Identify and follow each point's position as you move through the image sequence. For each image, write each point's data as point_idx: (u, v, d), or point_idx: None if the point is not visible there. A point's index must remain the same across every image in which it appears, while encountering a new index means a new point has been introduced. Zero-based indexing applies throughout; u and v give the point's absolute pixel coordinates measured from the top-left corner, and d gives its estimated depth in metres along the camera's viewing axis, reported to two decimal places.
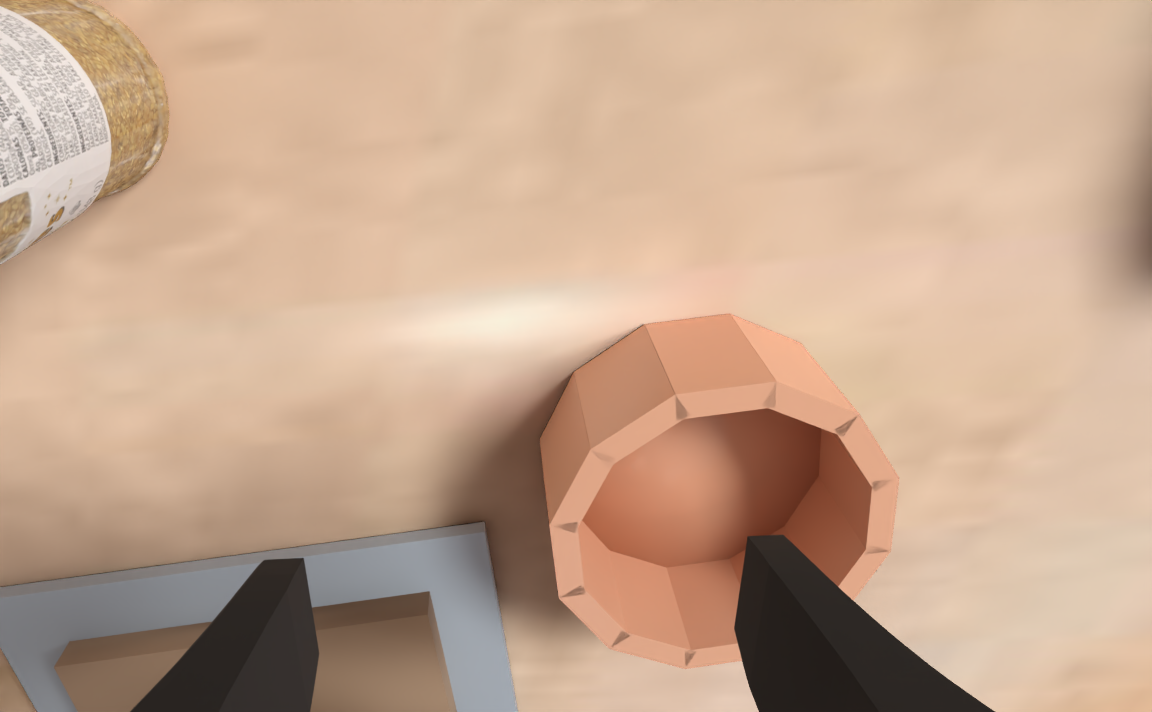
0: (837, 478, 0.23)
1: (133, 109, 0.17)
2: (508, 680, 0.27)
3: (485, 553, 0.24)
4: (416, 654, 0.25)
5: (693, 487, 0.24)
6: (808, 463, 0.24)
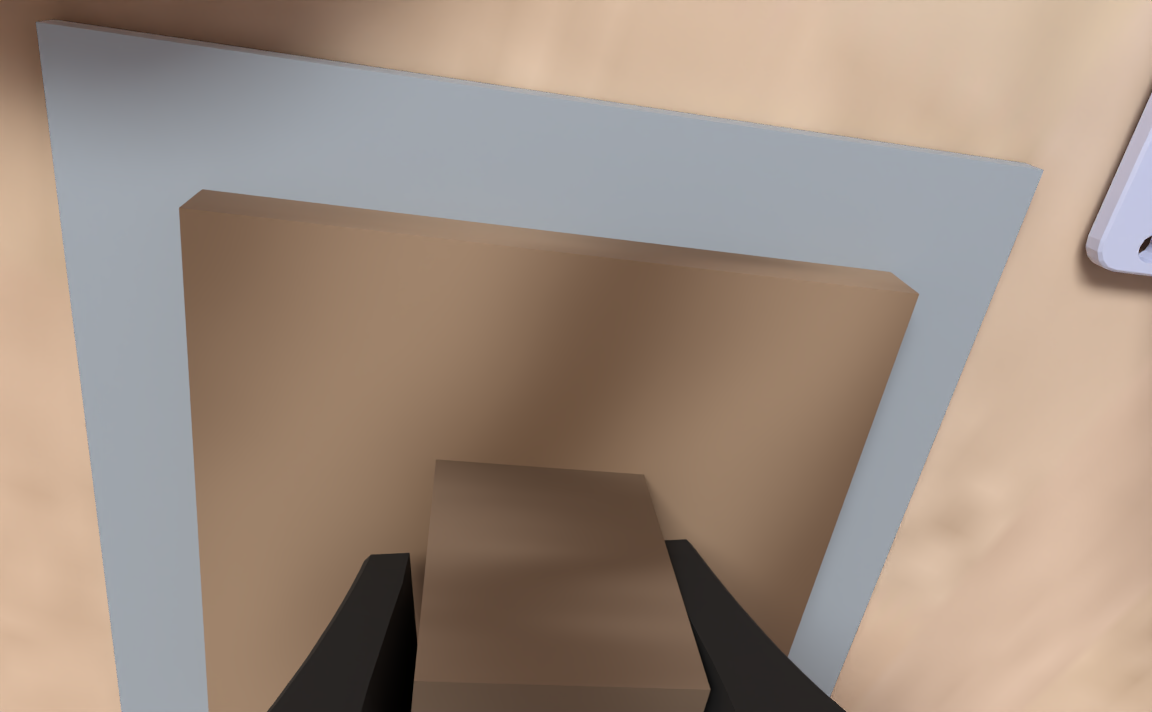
0: None
1: None
2: (514, 97, 0.12)
3: (104, 38, 0.11)
4: (296, 263, 0.11)
5: None
6: None
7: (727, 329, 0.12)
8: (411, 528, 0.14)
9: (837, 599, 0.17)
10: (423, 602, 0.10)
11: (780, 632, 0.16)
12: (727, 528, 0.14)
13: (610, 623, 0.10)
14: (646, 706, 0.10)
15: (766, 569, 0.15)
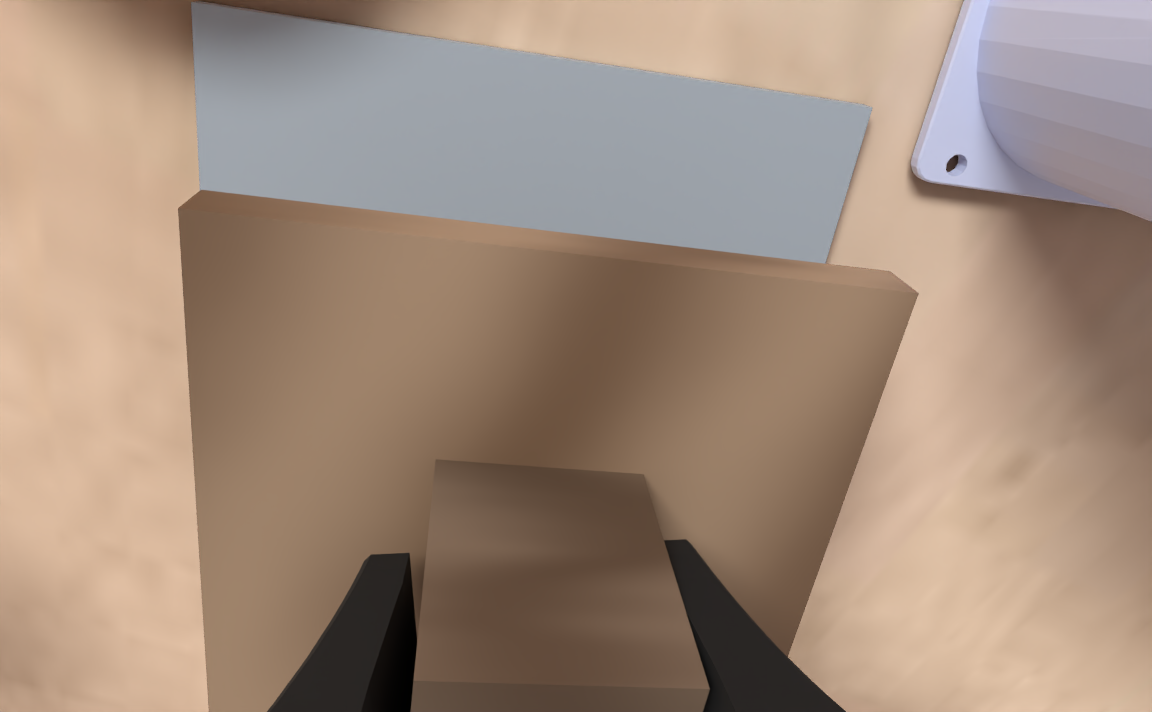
0: None
1: None
2: (503, 54, 0.17)
3: (234, 13, 0.16)
4: (296, 264, 0.11)
5: None
6: None
7: (726, 329, 0.12)
8: (411, 528, 0.14)
9: None
10: (423, 602, 0.10)
11: (780, 631, 0.16)
12: (728, 527, 0.14)
13: (610, 623, 0.10)
14: (646, 705, 0.10)
15: (766, 568, 0.15)
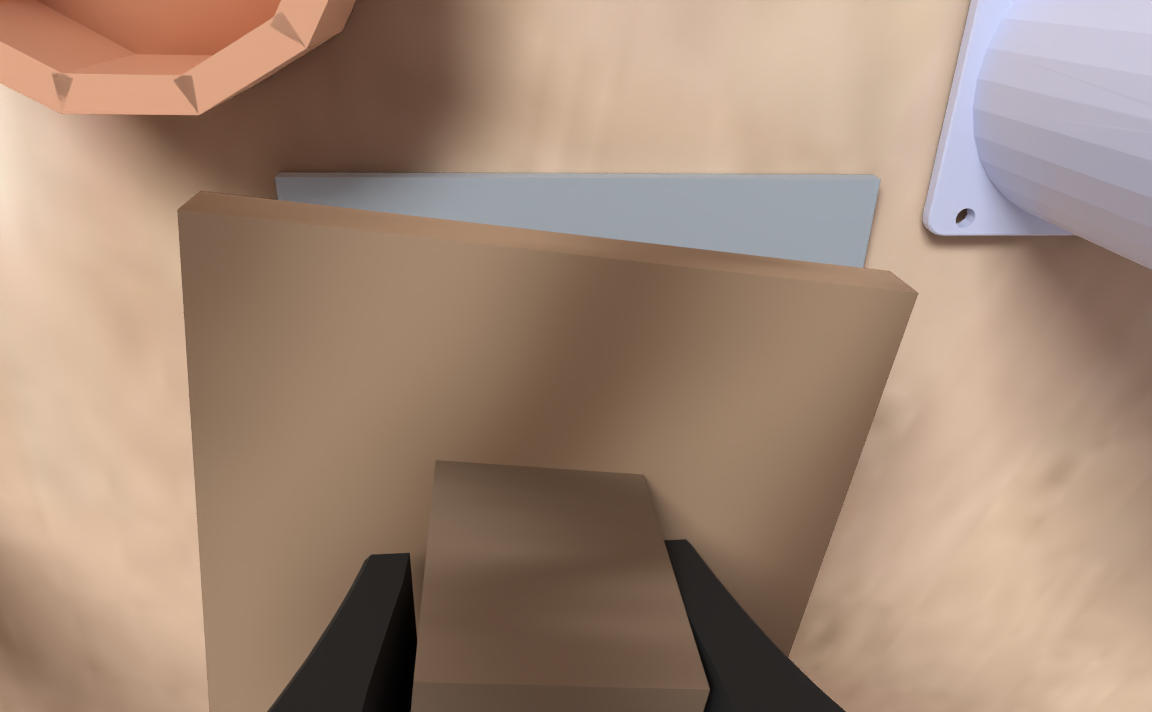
0: None
1: None
2: (544, 181, 0.20)
3: (311, 180, 0.19)
4: (295, 264, 0.11)
5: None
6: None
7: (726, 329, 0.12)
8: (411, 529, 0.14)
9: None
10: (423, 603, 0.10)
11: (781, 631, 0.16)
12: (728, 528, 0.14)
13: (610, 624, 0.10)
14: (646, 706, 0.10)
15: (766, 569, 0.15)
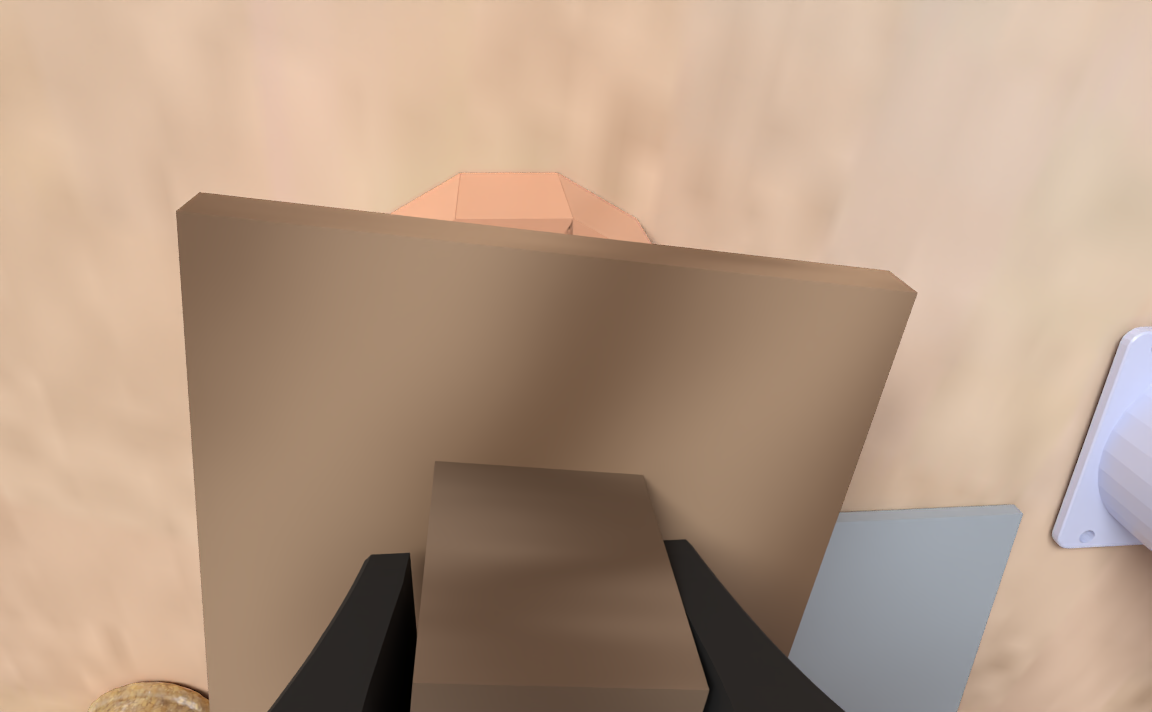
0: None
1: None
2: None
3: None
4: (294, 266, 0.11)
5: None
6: None
7: (725, 329, 0.12)
8: (411, 529, 0.14)
9: None
10: (423, 604, 0.10)
11: (781, 632, 0.16)
12: (727, 528, 0.14)
13: (608, 625, 0.10)
14: (645, 707, 0.10)
15: (766, 569, 0.15)
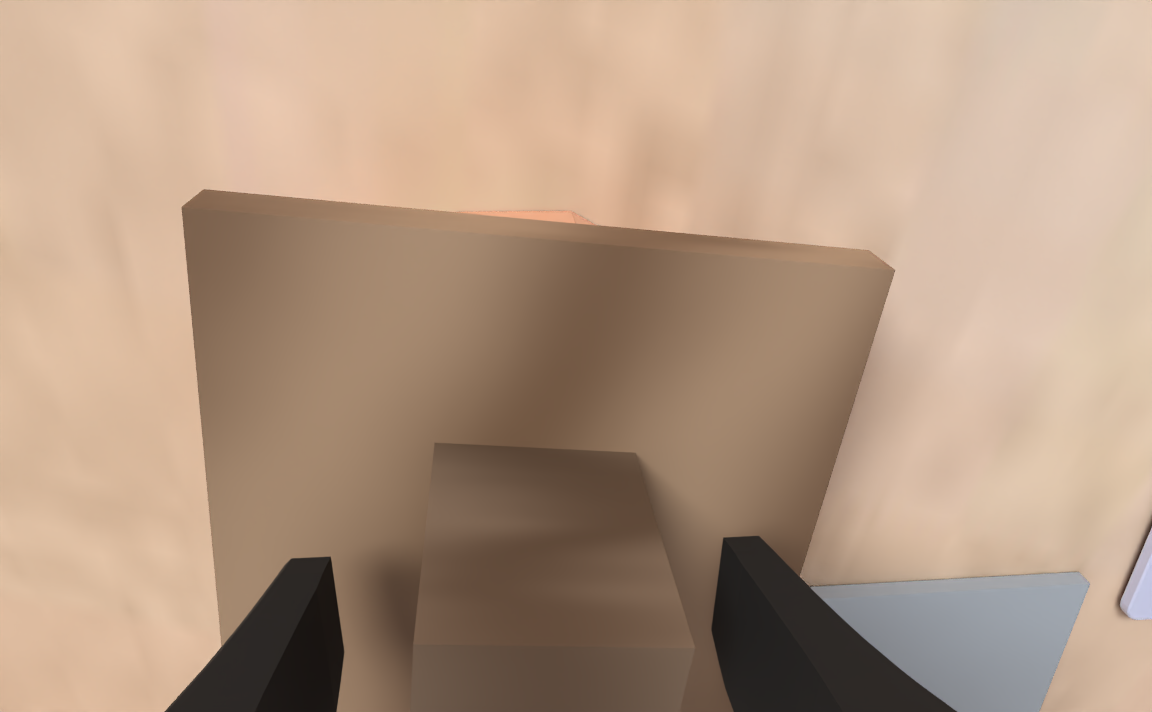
0: None
1: None
2: None
3: None
4: (294, 257, 0.12)
5: None
6: None
7: (710, 309, 0.13)
8: (413, 510, 0.14)
9: None
10: (422, 573, 0.11)
11: None
12: (719, 503, 0.15)
13: (600, 590, 0.11)
14: (635, 665, 0.10)
15: None
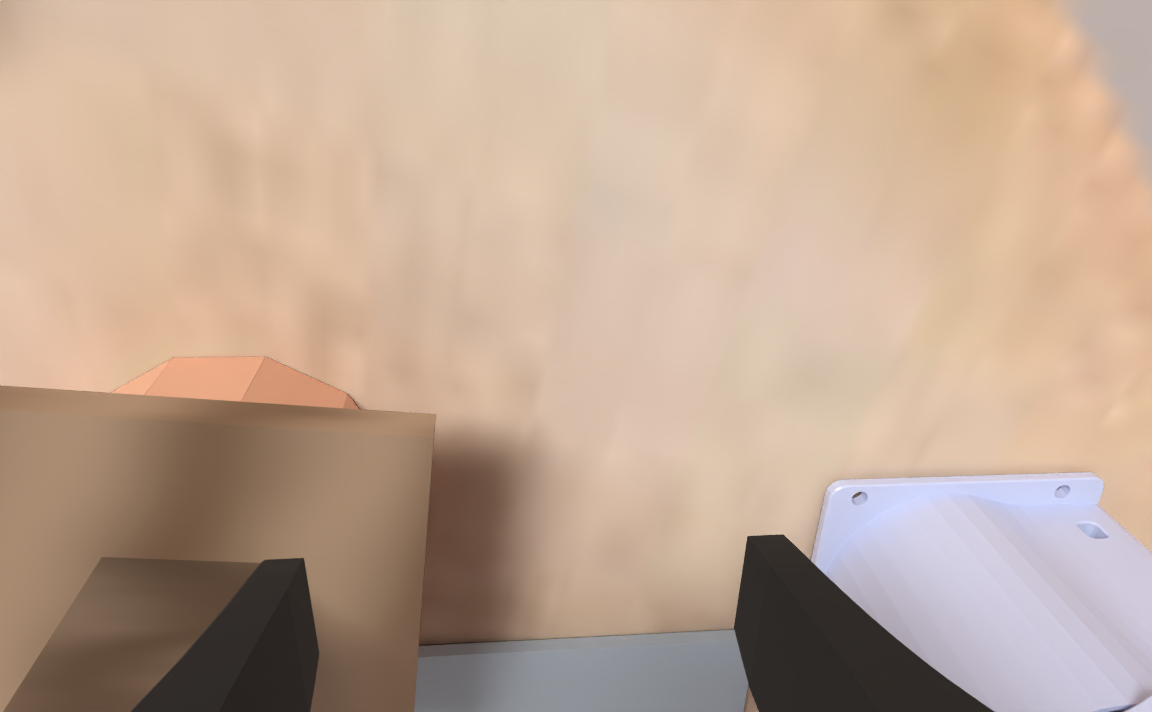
0: None
1: None
2: (509, 653, 0.27)
3: None
4: None
5: None
6: None
7: (296, 465, 0.18)
8: None
9: None
10: (30, 670, 0.15)
11: (403, 670, 0.21)
12: (338, 598, 0.19)
13: None
14: None
15: (377, 626, 0.20)
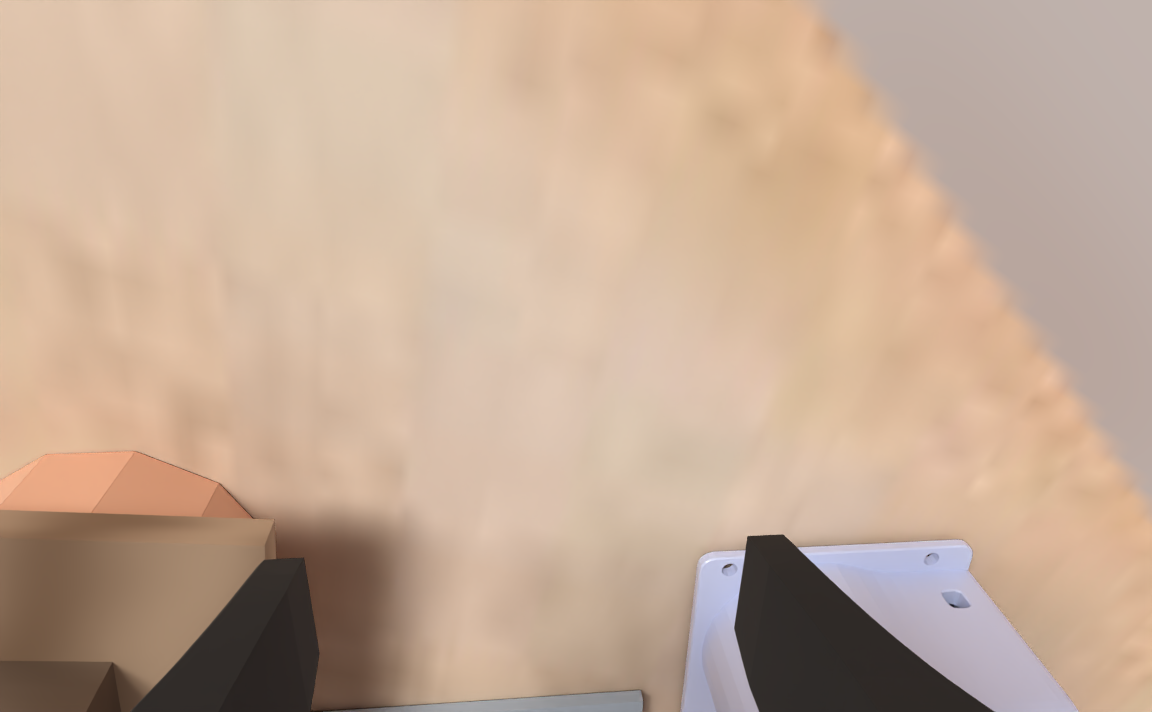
0: None
1: None
2: None
3: None
4: None
5: None
6: None
7: (134, 574, 0.19)
8: None
9: None
10: None
11: None
12: None
13: None
14: None
15: None
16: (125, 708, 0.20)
